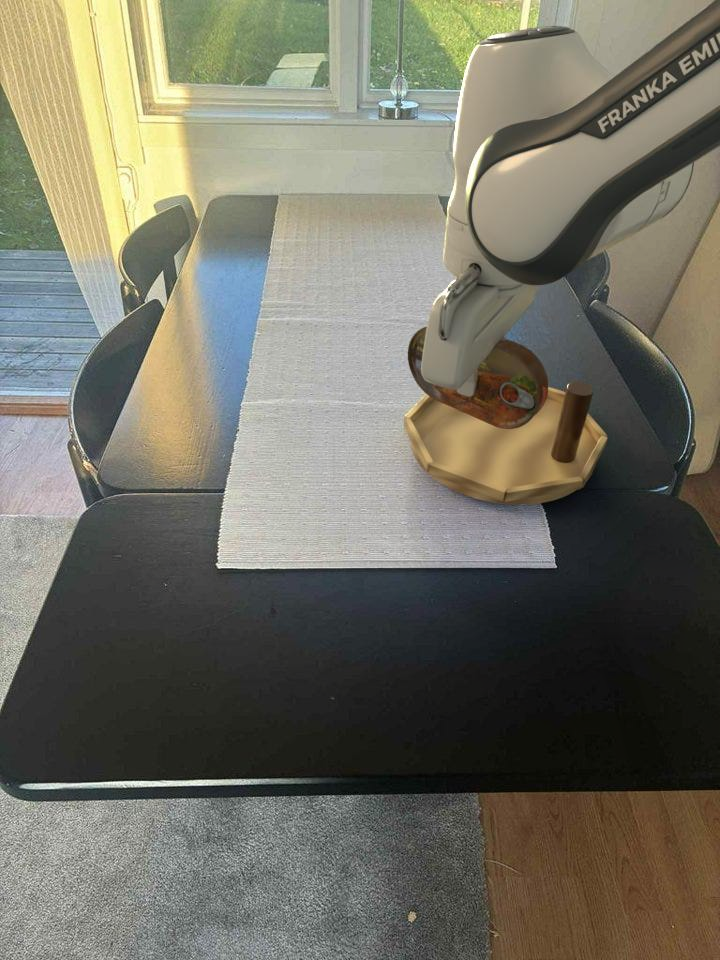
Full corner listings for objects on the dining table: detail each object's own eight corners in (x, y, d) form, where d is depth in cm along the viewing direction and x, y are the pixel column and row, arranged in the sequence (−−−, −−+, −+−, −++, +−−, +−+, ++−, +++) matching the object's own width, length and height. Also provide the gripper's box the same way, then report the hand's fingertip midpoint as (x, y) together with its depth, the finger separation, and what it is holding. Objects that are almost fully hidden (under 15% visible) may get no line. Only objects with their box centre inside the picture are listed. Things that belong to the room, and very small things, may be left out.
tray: (618, 425, 95) (640, 352, 87) (561, 532, 79) (583, 454, 72) (456, 374, 104) (464, 305, 96) (376, 461, 88) (379, 386, 81)
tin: (404, 386, 75) (406, 316, 69) (422, 373, 76) (425, 303, 71) (528, 443, 67) (542, 370, 62) (545, 427, 69) (560, 354, 63)
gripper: (483, 301, 53) (462, 447, 62) (565, 217, 66) (539, 346, 75) (408, 282, 55) (399, 425, 64) (503, 204, 68) (484, 331, 77)
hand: (475, 381), depth 70 cm, fingers closed on tin, 3 cm apart
